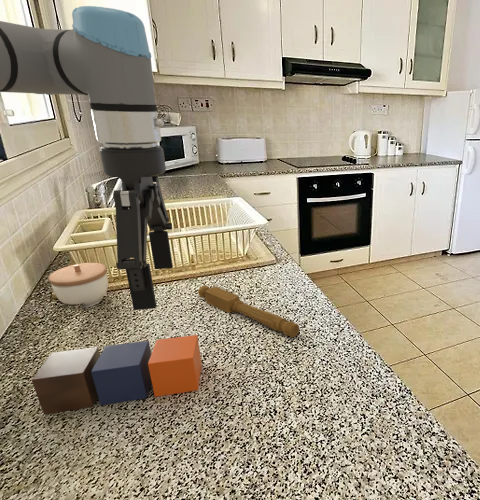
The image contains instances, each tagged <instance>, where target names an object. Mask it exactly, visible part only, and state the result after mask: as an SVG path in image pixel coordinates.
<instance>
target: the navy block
mask: <svg viewBox="0 0 480 500" xmlns="http://www.w3.org/2000/svg"><path fill="white" fill-rule="evenodd" d="M151 354H152V350H151V346H150V340H142V341H135V342H128V343H120V344H110V345H105V346H104V347H103V349H102V351H101V353H100V357H99V358H98V360H97V362H96V364H95V366H94V367H93V369H92V371H91V373H92V376H93V380H94V384H95V387H96V391H97V394H98V398H97V399H98V401H99V404H100V406H106V405H113V404H118V403H125V402H131V401H137V400H144V399H148V396H149V392H150V390H151V386H152V381H151V376H150V371H149V367H148V362H149V360H150V357H151Z"/></svg>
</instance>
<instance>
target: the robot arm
mask: <svg viewBox="0 0 480 500" xmlns="http://www.w3.org/2000/svg"><path fill="white" fill-rule="evenodd" d="M71 13H72V14H71V17H72V25H71V27H72V29H53V28H52V29H51V28H50V29H49V28H40V27H39V28H38V27H34V26H28V25H24V24H19V23H14V22H9V21H8V22H7V21H2V20H0V93H17V94H35V95H47V96H49V95H50V96H52V95H76V96H77V95H82V96H83V95H84V96H88V100H89V106H90V112H91V118H92V122H93V127H94V128H93V129H94V132H95V139H96V141H97V142H98V143H99V144H102V146H100V148H99V149H98V151H99V155H100V160H101V166H102V170H103V173H104V174H105V175H106V176H107V177H111V178H117V179H120V181H121V189H119V190H117V189H115V190H113V192H112V196H113V201H114V207H115V225H116V226H115V229H116V253H117V258H116V259H117V262H116V263H115V266H116V269H117V270H119V271H120V270H121V271H122V270H125V273H126V279H127V283H128V288H129V293H130V299H131V302H132V308H133V311H141V310H142V311H143V310H153V309H156V308H157V305H158V304H157V300H156V299H157V298H156V294H155V288H154V281H153V277H152V271H151V265H150V263H148V261H147V253H148V252H147V249H148V238H149V243H150V248H151V250H150V251H151V255H152V261H153V267H154V270H166V269H167V270H169V269H173V268H174V264H173V258H172V251H171V245H170V244H171V243H170V239H169V230H170V231H171V230H173V223H172V222H170V218H169V215H168V211H167V208H166V204H165V201H164V197H163V194H162V190H161V187H160V182H159V181H160V180H159V176H161V175H163V174H164V173H166V171H167V167H166V166H167V165H166V160H165V151H164V148H163V147H162V146H161V145H158V143H160V142H161V141H162V135H161V127H164V126H165V122H164V120H163V119H161V118H158V117H159V114H158V106H157V103H156V95H155V86H154V77H153V67H152V53H151V51H150V48H149V41H148V37H147V31H146V28H145V25H144V22H143V20H141V18H140V17H138V15H135V14H134V13H131V12H129V11H125V10H121V9H117V8H111V7H104V6H96V5H95V6H94V5H82V6H78V7H75V8H74V9H72V11H71ZM148 228H149V230H150V231H149V232H148Z"/></svg>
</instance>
